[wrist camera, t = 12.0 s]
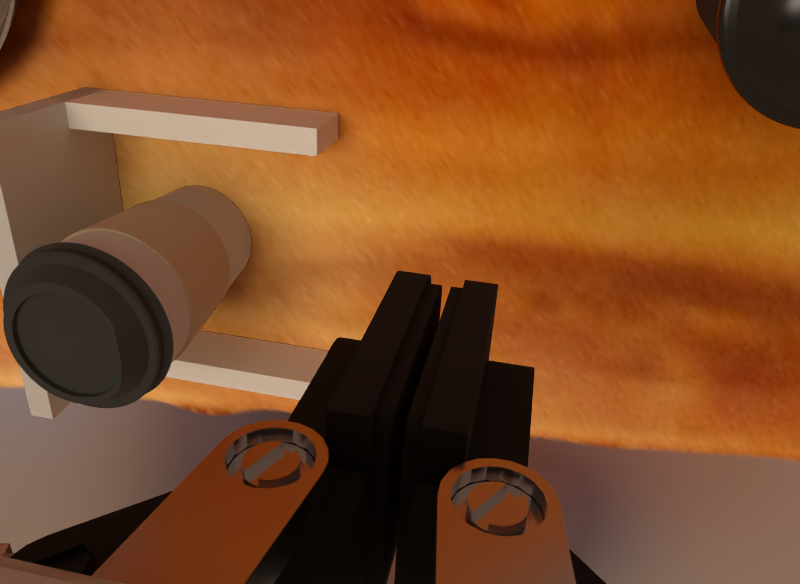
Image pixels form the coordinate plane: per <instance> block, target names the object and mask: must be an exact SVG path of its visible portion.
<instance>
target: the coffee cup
mask: <svg viewBox="0 0 800 584" xmlns="http://www.w3.org/2000/svg"><path fill="white" fill-rule="evenodd" d="M250 253H251V235H250V231H249V227H248V225H247V222H246V220H245V218H244V216H243V215H242V213H241V212H240V210H239V209H238V208H237V207H236V205H235V204H234V203H233V202H232V201H231V200H229V199H228V198H227V197H226V196H224V195H223V194H221V193H219V192H217V191H215V190H213V189H210V188H207V187H203V186H186V187H183V188H180V189H177V190H175V191H173V192H171V193H169V194H167V195H164V196H162V197H160V198H158V199H156V200H152V201H147V202H144V203H141V204H139V205H136V206H134V207H132V208H130V209H127V210H125V211H123V212H121V213H118V214H116V215H114V216H112V217H109V218H107V219H105V220H103V221H100V222H98V223H96V224H94V225H91V226H89V227H87V228H85V229H82V230H80V231H78V232H76V233H73V234H71V235H70V236H68V237H66V238H65V239H64V240H63V241H62V242H58V243H51V244H47V245H44V246H41V247H39V248H37V249H35V250H33V251H31V252H30V253H29V254H27V255H26V256H25V257H24V258H23V259H22V260H21V262H20V263H19V265H18V266H17V267H16V268H15V269H14V270H13V272H12V273H11V275H10V277H9V279H8V281H7V283H6V286H5V290H4V297H3V311H4V332H5V336H6V340H7V343H8V346H9V348H10V350H11V352H12V354H13V356H14V358H15V359H16V361H17V362H18V364H19V365H20V367H21V368H22V369H23V370H24V372H25V373H26V374H27V375H28V376H29V377H30V378H31V379H32V380H33V381H34V382H35V383H37V384H38V385H39V386H40V387H42V388H43V389H45V390H46V391H48V392H49V393H51V394H53V395H55V396H57V397H59V398H61V399H64V400H67V401H70V402H74V403H80V404H83V405H87V406H92V407H98V408H116V407H121V406H125V405H128V404H131V403H133V402H135V401H136V400H138V399H139V398H141V397H142V396H143V395H144V394H146V393H148V392H150V391H151V390H153V389H154V388H156V387H157V386H158V385H159V384H160V383H161V382H162V381H163V379H164V378H165V376H166V375H167V373H168V371H169V369H170V366H171V363H172V362H173V361H175V360H176V359H177V358H178V357H179V356H180V355H181V354H182V353H183V352H184V350H185V349H186V348H187V346H188V345H189V344H190V342H191V341H192V340H193V338H194V337H195V336H196V334H197V333H198V332H199V330H200V329H201V328H202V326H203V325H204V324H205V322H206V321H207V319H208V318H209V317H210V315H211V314H212V313H213V311H214V310H215V309H216V307H217V306H218V305H219V303H220V302H221V301H222V299H223V298H224V296H225V294H226V292H227V290H228V288H229V287H230V286H231V284H232V283H233V282H234V280H235V279H236V278H237V277H238V275H239V274H240V273H241V271H242V270H243V269H244V267H245V266H246V264H247V262H248V260H249V257H250Z"/></svg>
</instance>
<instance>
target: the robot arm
mask: <svg viewBox="0 0 800 584" xmlns="http://www.w3.org/2000/svg"><path fill="white" fill-rule="evenodd" d="M497 291H498V284H491V283H484V282H477V281H469V280H465V282H464V286H463V288H457V287H451V289H450V292H449V295H448V298H447V301H446V304H445V307H444V310H443V313H442V316H441V319H440V308H441V297H442V285H436V284H431V276H430V275H426V274H418V273H411V272H404V271H397V273H396V275H395V276H394V278H393V280H392V282H391V284H390V286H389V288H388V290H387V292H386V294H385V296H384V298H383V300H382V301H381V303H380V305H379V307H378V309H377V311H376V313H375V315H374V317H373V319H372V321H371V323H370V325H369V326H368V328H367V330H366V332H365V334H364V336H363V338H362V340H361V341H360V340H354V339H347V338H341V337H340V338H337V339H336V340H335V342H334V343H333V345H332V346H331V348H330V350H329V351H328V353H327V355H326V357H325V358H324V360H323V362H322V363H321V365H320V367H319V368H318V370H317V372H316V374H315V375H314V377H313V379H312V380H311V382H310V384H309V385H308V387H307V389H306V391H305V392H304V394H303V396H302V397H301V399H300V401H299V402H298V404H297V406H296V408H295V409H294V411H293V413H292V414H291V416H290V418H289V420H288V421H284V420H276V421H275V420H274V421H262V422H258V423H254V424H249V425H247V426H244V427H242V428H240V429H238V430H236V431H234V432H232V433H231V434H230V435H228V436H227V437H226V438H224V439H223V440H222V441H221V442H220V443H219V444H218V445H217V446H216V447H215V448H214V449H213V450H212V451H211V452H210V453H209V454H208V455H207V456H206V457H205V458H204V459H203V460H202V461H201V463H200V464H199V465H198V466H197V467H196V468H195V469H194V470H193V471H192V472H191V473H190V474H189V475H188V476H187V477H186V478H185V479H184V480H183V481H182V482H181V483H180V484H179V485H178V487H176V488H175V490H174V491H171V492H168V493H166V494H163V495H160V496H157V497H154V498H152V499H149V500H146V501H143V502H140V503H137V504H135V505H132V506H129V507H126V508H123V509H121V510H118V511H115V512H112V513H109V514H106V515H104V516H101V517H98V518H95V519H92V520H89V521H87V522H84V523H81V524H78V525H75V526H73V527H70V528H67V529H64V530H61V531H58V532H56V533H53V534H50V535H47V536H45V537H43V538H41V539H39V540H36V541H34V542H32V543H30V544H28V545H26V546H25V547H23V548H22V549H20V550H19V551H18V552H16V553H12V549H11V546H10V544H7V543H0V584H386V583H387V580H388V576H389V573H390V569H391V565H392V562H393V558H394V555H395V551H396V548H397V551H396V566H395V582H394V584H606V583H605V582H604V581H603V580H602V579H601V578H600V577H598V576H597V575H596V574H595V573H594V572H593V571H592V570H591V569H590V568H589V567H588V566H587V565H586V564H585V563H584V562H583V561H582V560H581V559H579V558H578V557H577V556H576V555H575V554H574V553H573V552H572V551H571V550H570V549H569V546H568V541H567V536H566V532H565V526H564V521H563V516H562V511H561V506H560V503H559V500H558V498H557V496H556V493H555V491H554V489H553V488H552V487H551V486H550V485H549V484H548V482H547V481H546V480H545V479H544V478H543V477H541V476H540V475H538V474H537V473H536V472H534V471H533V470H531V469H530V468H528V454H529V440H530V426H531V412H532V397H533V383H534V367H527V366H521V365H514V364H508V363H502V362H495V361H489V353H490V346H491V338H492V330H493V322H494V315H495V307H496V299H497ZM439 320H440V322H439Z"/></svg>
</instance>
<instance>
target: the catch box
mask: <svg viewBox="0 0 800 584" xmlns="http://www.w3.org/2000/svg"><path fill="white" fill-rule="evenodd" d="M112 133H115V134H124V135H133V136H142V137H151V138H160V139H169V140H177V141H186V142H195V143H204V144H213V145H222V146H231V147H240V148H249V149H258V150H266V151H275V152H284V153H293V154H302V155H311V156H318V155H319V154H320V153H321V152H322V151H324V150H325V149H326V148H327V147H328V146H330V145H331V144H332V143H333V142H334V141H336V140H337V139H338V113H333V112H323V111H313V110H303V109H293V108H283V107H273V106H264V105H254V104H244V103H234V102H224V101H214V100H204V99H194V98H184V97H174V96H165V95H155V94H145V93H135V92H125V91H115V90H105V89H95V88H85V87H84V88H80V89H77V90H73V91H70V92H66V93H63V94H59V95H56V96H52V97H49V98H45V99H42V100H38V101H35V102H31V103H28V104H24V105H21V106H17V107H14V108H10V109H7V110H3V111H0V287H1V291H2V296H3V297H4V290H5V286H6V283H7V281H8V279H9V277H10V275H11V273H12V272H13V270H14V269H15V268H16V267H17V266H18V265H19V263H20V262H21V260H22V259H23V258H24V257H25V256H26V255H27V254H29V253H30V252H31V251H33V250H35V249H37V248H39V247H41V246H44V245H47V244H51V243H58V242H62V241H63V240H64V239H65V238H66V237H68V236H70V235H71V234H73V233H76V232H78V231H80V230H82V229H85V228H87V227H89V226H91V225H94V224H96V223H98V222H100V221H103V220H105V219H107V218H109V217H112V216H114V215H116V214H118V213H121V212H123V206H122V199H121V192H120V185H119V178H118V171H117V164H116V157H115V150H114V143H113V136H112ZM327 353H328V351H325V350H319V349H312V348H306V347H300V346H294V345H287V344H281V343H275V342H269V341H263V340H256V339H250V338H244V337H238V336H231V335H225V334H219V333H213V332H206V331H200V330H199V332H198V333H197V334H196V336H195V337H194V338H193V340H192V341H191V342H190V344H189V345H188V346H187V348H186V349H185V350H184V352H183V353H182V354H181V355H180V356H179V357H178V358H177V359H176V360H175V361H173V362H172V363H171V366H170V369H169V371H168V373H167V375H166V376H165V377H170V378H176V379H182V380H187V381H193V382H199V383H205V384H210V385H216V386H222V387H228V388H233V389H239V390H245V391H251V392H256V393H262V394H268V395H274V396H279V397H285V398H291V399H297V400H300V399H301V397H302V396H303V394H304V392H305V391H306V389H307V387H308V385H309V384H310V382H311V380H312V379H313V377H314V375H315V374H316V372H317V370H318V368H319V367H320V365H321V363H322V362H323V360H324V358H325V357H326V355H327ZM19 366H20V365H19ZM20 370H21V374H22V378H23V382H24V387H25V390H26V395H27V399H28V403H29V407H30V411H31V415H34V416H39V417H44V418H50V419H54V418H55V417H56V416H57V415H58V414H59V413H60V412H61V411H62V410H64V409H65V408H66V407H67V406H68V405H69V404H70V403H71V402H70V401H67V400H64V399H61V398H59V397H57V396H55V395H53V394H51V393H49V392H48V391H46V390H45V389H43V388H42V387H40V386H39V385H38V384H37V383H35V382H34V381H33V380H32V379H31V378H30V377H29V376H28V375H27V374H26V373H25V372H24V370H23V369H22V368H21V367H20Z"/></svg>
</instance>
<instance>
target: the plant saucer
mask: <svg viewBox="0 0 800 584" xmlns="http://www.w3.org/2000/svg"><path fill="white" fill-rule="evenodd" d="M17 3H18V0H0V50H1V48H2V46H3V44H4V42H5V40H6V38H7V36H8V34H9V32H10V29H11V26H12V23H13V20H14V16H15V13H16V8H17Z"/></svg>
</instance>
